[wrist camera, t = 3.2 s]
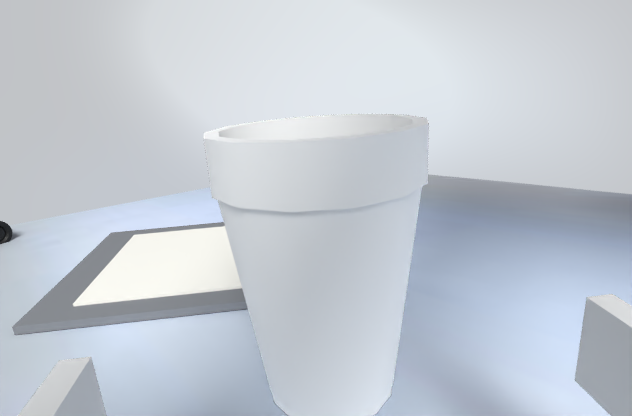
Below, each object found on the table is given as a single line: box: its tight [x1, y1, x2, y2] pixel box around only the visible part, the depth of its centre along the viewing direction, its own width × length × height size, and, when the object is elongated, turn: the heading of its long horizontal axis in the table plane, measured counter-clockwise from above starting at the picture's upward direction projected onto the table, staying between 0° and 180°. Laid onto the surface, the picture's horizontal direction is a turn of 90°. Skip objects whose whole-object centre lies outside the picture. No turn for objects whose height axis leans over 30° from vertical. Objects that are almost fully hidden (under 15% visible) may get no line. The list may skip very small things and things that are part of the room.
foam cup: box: [203, 114, 429, 416], centre depth 20 cm, size 10×9×13 cm
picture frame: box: [12, 222, 248, 335], centre depth 37 cm, size 24×18×1 cm
